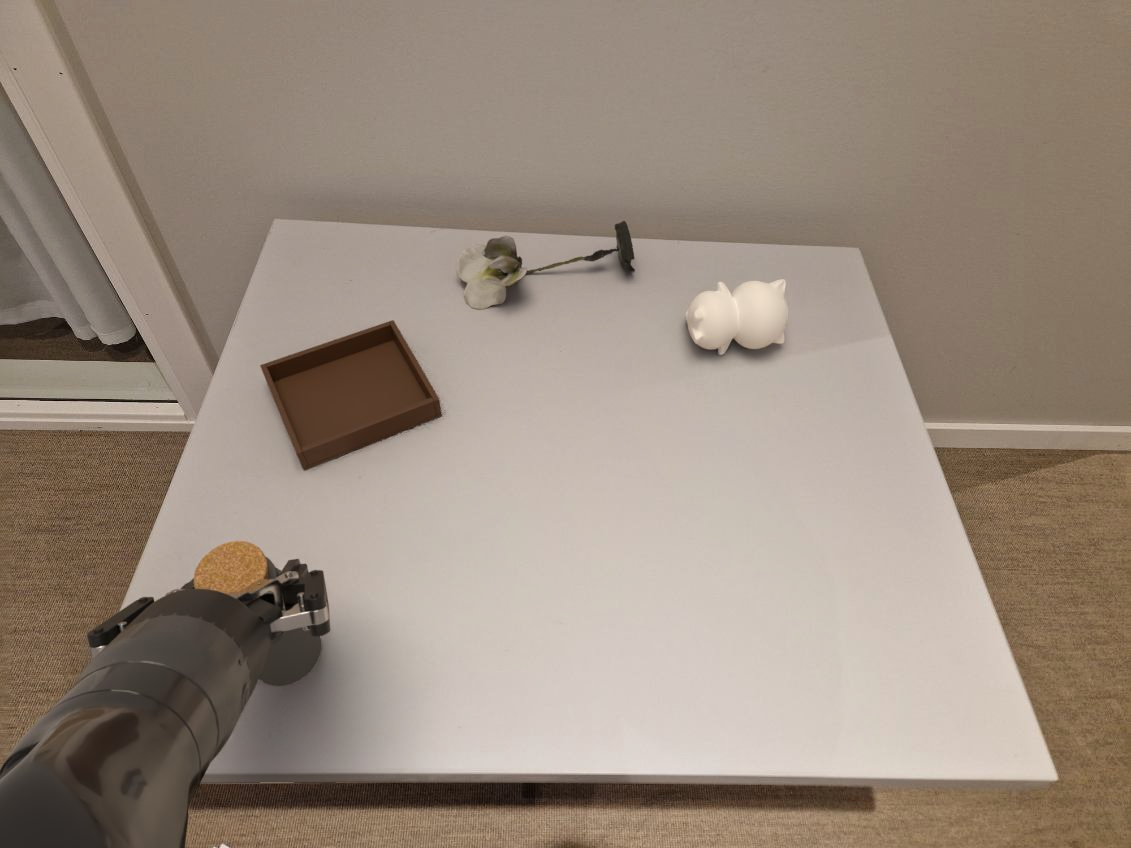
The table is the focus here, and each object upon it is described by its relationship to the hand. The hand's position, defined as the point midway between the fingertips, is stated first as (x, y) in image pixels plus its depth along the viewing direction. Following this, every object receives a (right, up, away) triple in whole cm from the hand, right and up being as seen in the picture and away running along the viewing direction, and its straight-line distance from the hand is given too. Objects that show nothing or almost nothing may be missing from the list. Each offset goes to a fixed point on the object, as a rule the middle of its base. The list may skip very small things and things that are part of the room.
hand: (251, 579), depth 54 cm
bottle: (0, -8, +7) cm, 11 cm away
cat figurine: (+43, +22, +35) cm, 59 cm away
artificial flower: (+21, +29, +39) cm, 53 cm away
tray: (0, +14, +26) cm, 30 cm away
